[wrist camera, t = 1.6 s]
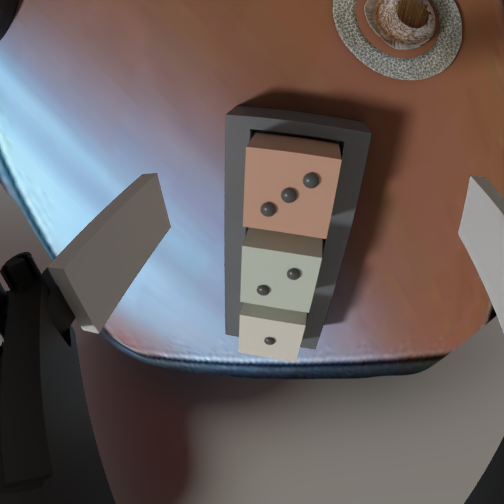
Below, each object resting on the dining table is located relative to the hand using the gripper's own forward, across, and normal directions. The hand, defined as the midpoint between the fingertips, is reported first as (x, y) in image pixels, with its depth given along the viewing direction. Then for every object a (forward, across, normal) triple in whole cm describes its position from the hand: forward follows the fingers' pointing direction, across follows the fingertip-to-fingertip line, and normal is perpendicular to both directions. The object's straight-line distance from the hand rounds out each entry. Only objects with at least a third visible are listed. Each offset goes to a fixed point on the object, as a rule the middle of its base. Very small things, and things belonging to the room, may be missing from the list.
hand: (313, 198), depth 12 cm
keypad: (+18, -4, -14) cm, 24 cm away
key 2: (+15, -4, -14) cm, 21 cm away
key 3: (+15, -2, -5) cm, 16 cm away
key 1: (+15, -5, -23) cm, 28 cm away
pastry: (+19, +8, +9) cm, 23 cm away
